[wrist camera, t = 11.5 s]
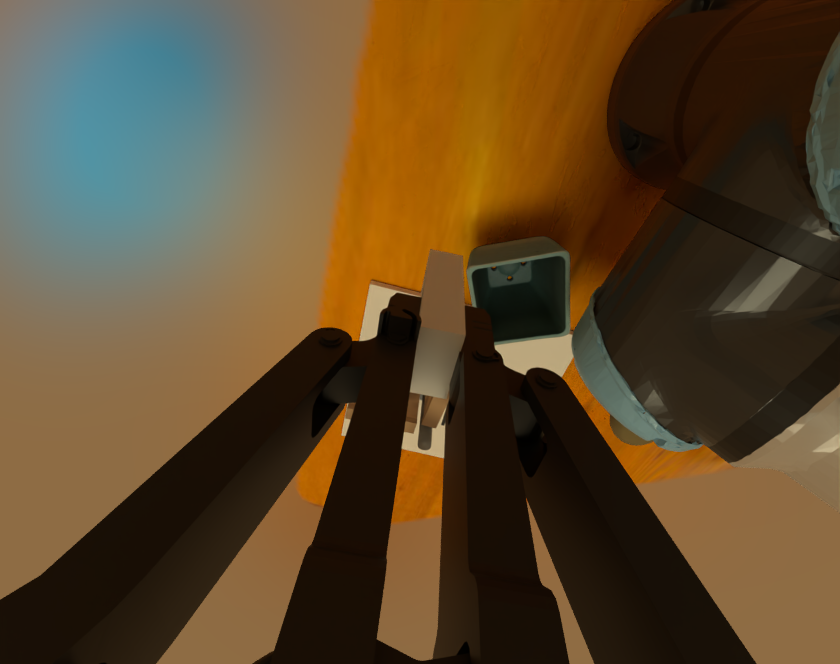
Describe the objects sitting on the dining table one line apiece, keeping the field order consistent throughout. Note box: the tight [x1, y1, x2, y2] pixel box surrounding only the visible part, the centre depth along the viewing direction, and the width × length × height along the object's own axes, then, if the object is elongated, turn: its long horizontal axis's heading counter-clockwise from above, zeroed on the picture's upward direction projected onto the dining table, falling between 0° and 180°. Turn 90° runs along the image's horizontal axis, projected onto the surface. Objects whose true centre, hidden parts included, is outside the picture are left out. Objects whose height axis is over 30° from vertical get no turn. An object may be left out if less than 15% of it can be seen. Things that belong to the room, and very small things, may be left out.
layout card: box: [342, 280, 574, 458], centre depth 53 cm, size 26×26×1 cm
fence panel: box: [421, 392, 449, 428], centre depth 46 cm, size 12×2×7 cm, turn 163°
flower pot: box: [466, 236, 570, 345], centre depth 39 cm, size 9×9×9 cm
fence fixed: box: [345, 392, 432, 450], centre depth 49 cm, size 11×2×9 cm, turn 77°
